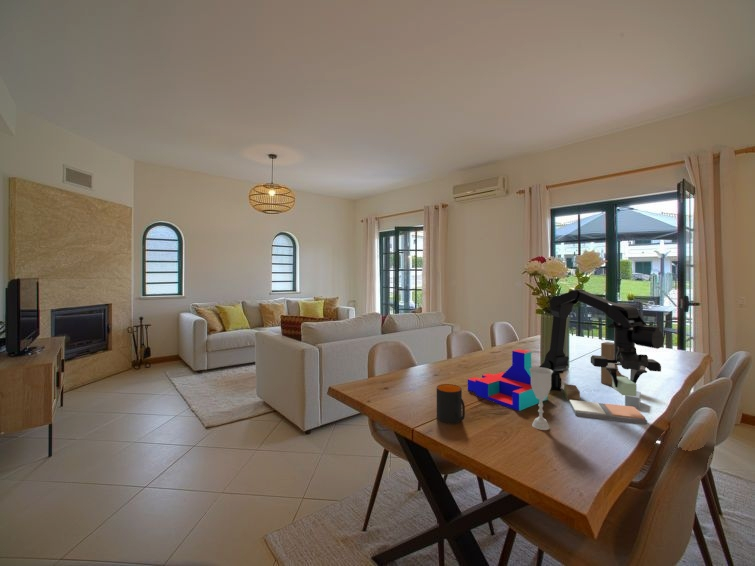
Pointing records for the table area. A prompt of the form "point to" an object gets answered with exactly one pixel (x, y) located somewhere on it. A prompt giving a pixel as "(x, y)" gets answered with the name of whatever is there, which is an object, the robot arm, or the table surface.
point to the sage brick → (625, 386)
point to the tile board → (607, 411)
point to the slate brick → (633, 400)
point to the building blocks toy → (508, 384)
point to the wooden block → (608, 353)
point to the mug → (450, 404)
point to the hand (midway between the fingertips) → (623, 387)
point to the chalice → (540, 392)
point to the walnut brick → (571, 392)
